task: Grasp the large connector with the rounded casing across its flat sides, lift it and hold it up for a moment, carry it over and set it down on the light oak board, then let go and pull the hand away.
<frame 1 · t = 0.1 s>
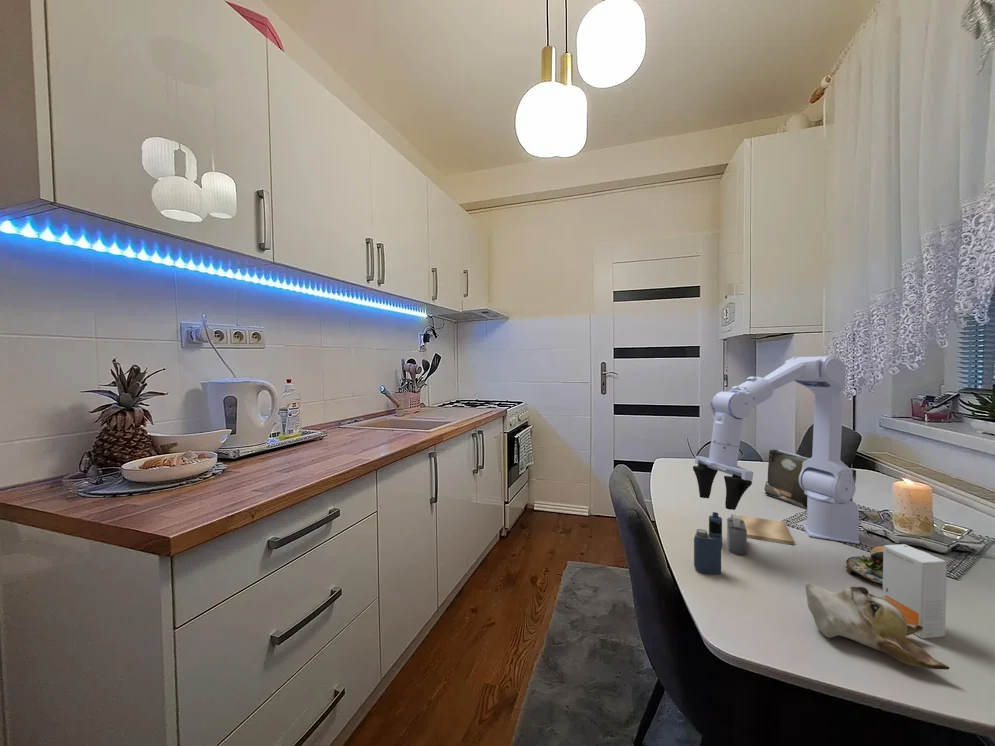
hand: (716, 503, 91), 11 cm above the table, fingers open, 7 cm apart
connector: (736, 546, 93), on the table
vaping device: (708, 571, 82), on the table
ceramic sculpture: (865, 644, 61), on the table
oak board: (760, 529, 101), on the table
skincare box: (912, 627, 64), on the table
burger: (885, 580, 79), on the table
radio: (809, 506, 119), on the table
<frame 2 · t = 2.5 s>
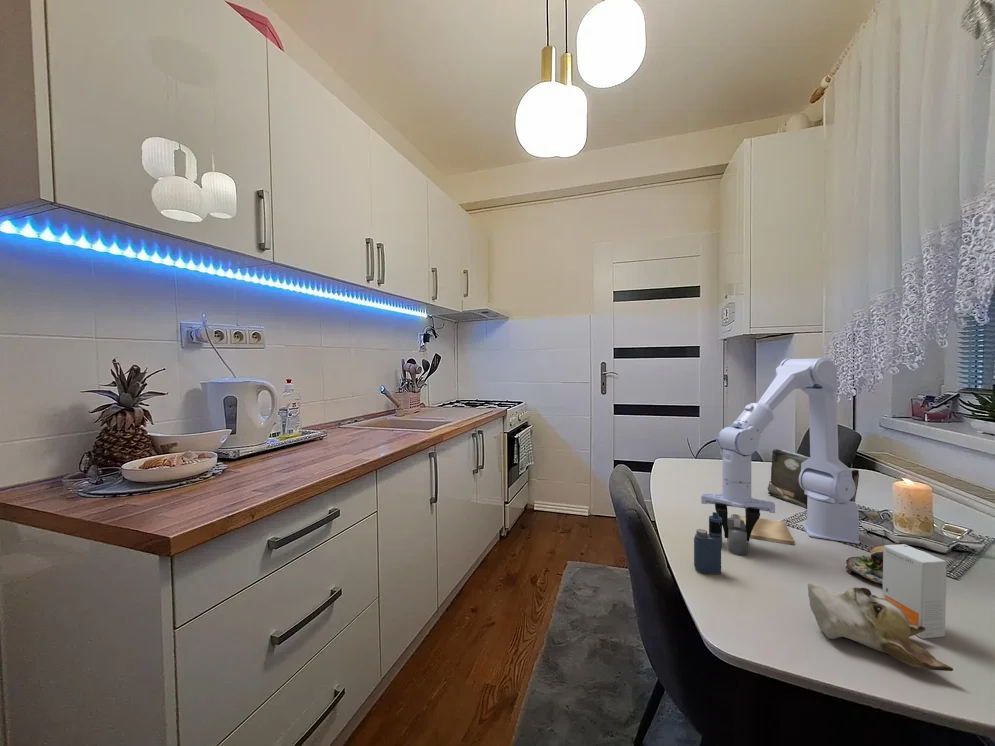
hand: (736, 538, 93), 2 cm above the table, fingers closed on connector, 3 cm apart
connector: (736, 546, 93), on the table, touching gripper
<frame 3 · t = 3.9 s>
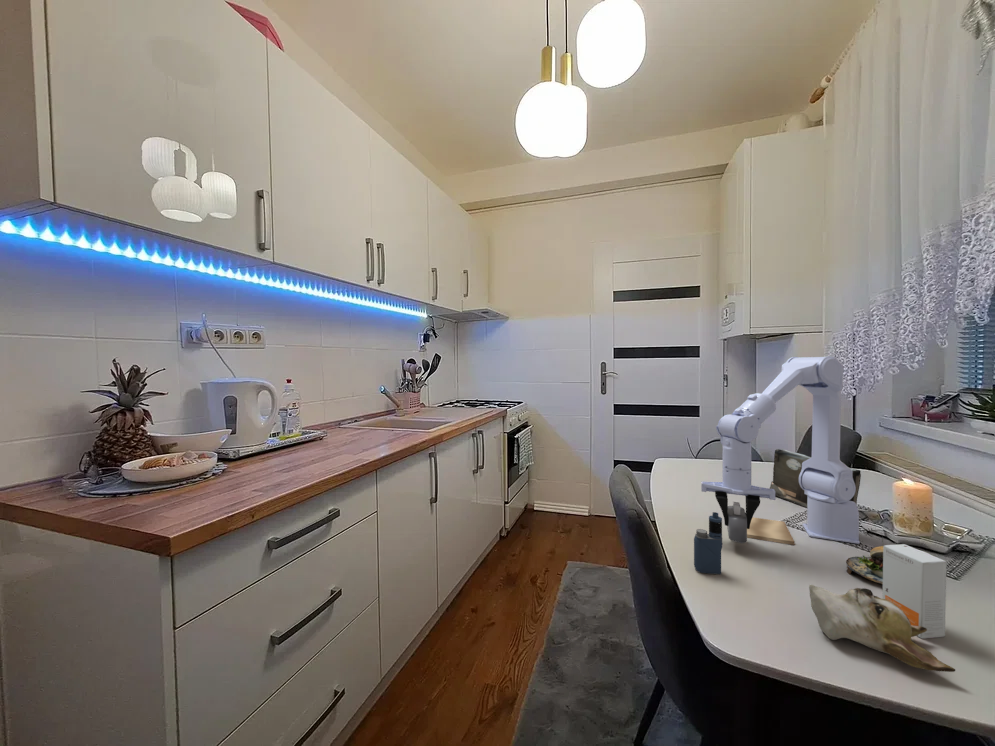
hand: (736, 525, 92), 5 cm above the table, fingers closed on connector, 3 cm apart
connector: (736, 534, 93), point 3 cm above the table, touching gripper
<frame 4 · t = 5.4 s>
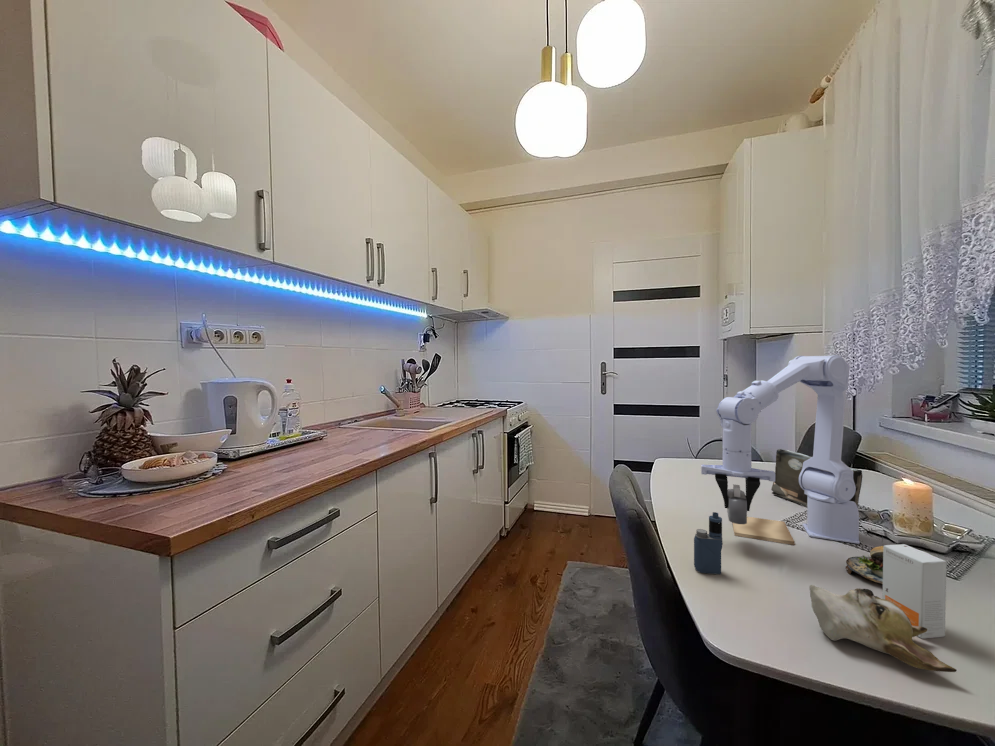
hand: (736, 508, 92), 9 cm above the table, fingers closed on connector, 3 cm apart
connector: (736, 516, 92), point 7 cm above the table, touching gripper
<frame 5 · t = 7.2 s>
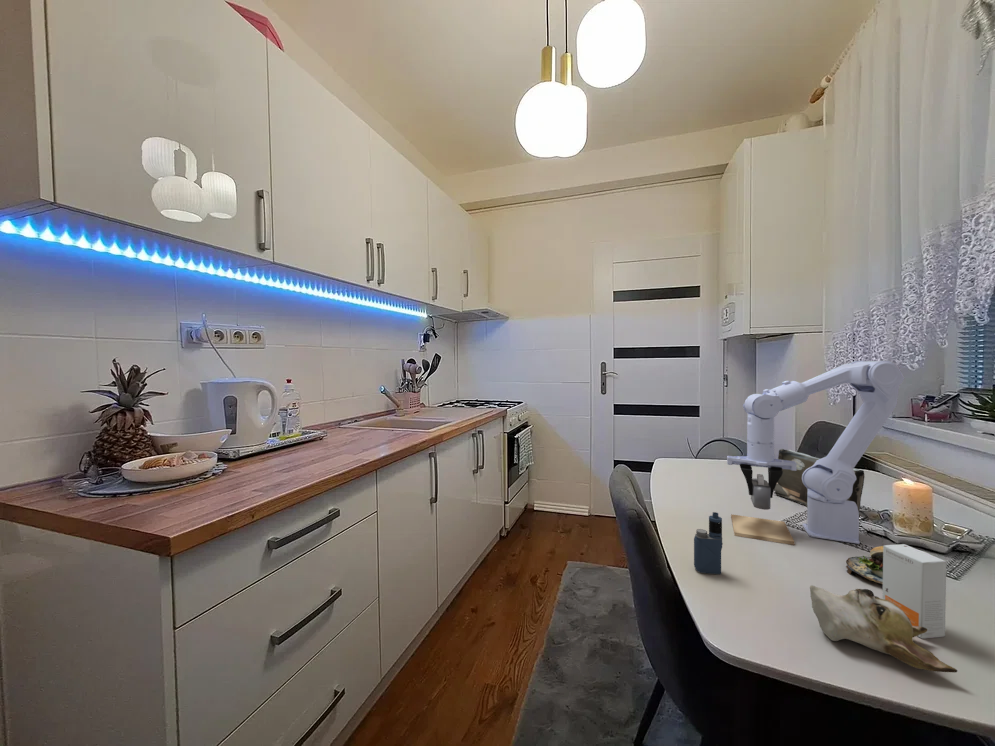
hand: (760, 495, 101), 9 cm above the table, fingers closed on connector, 3 cm apart
connector: (760, 503, 101), point 7 cm above the table, touching gripper
when the fingers open (4 cm above the table, at t = 8.7 s): connector stays where it is, resting on oak board.
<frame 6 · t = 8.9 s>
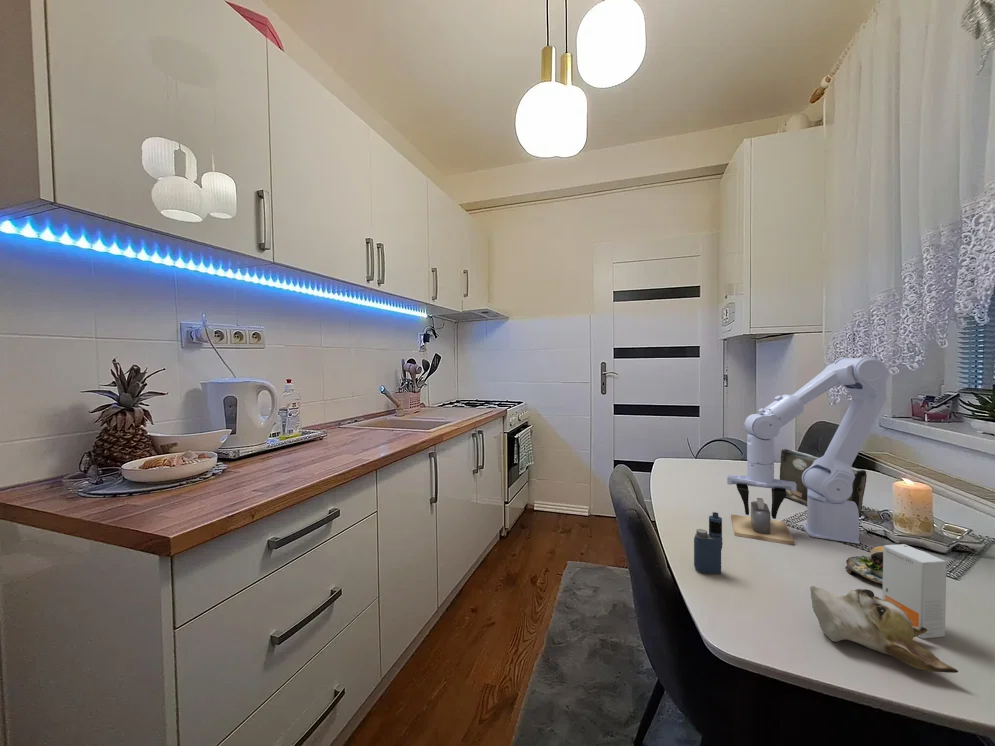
hand: (760, 515, 101), 4 cm above the table, fingers open, 5 cm apart
connector: (760, 527, 101), point 1 cm above the table, touching oak board
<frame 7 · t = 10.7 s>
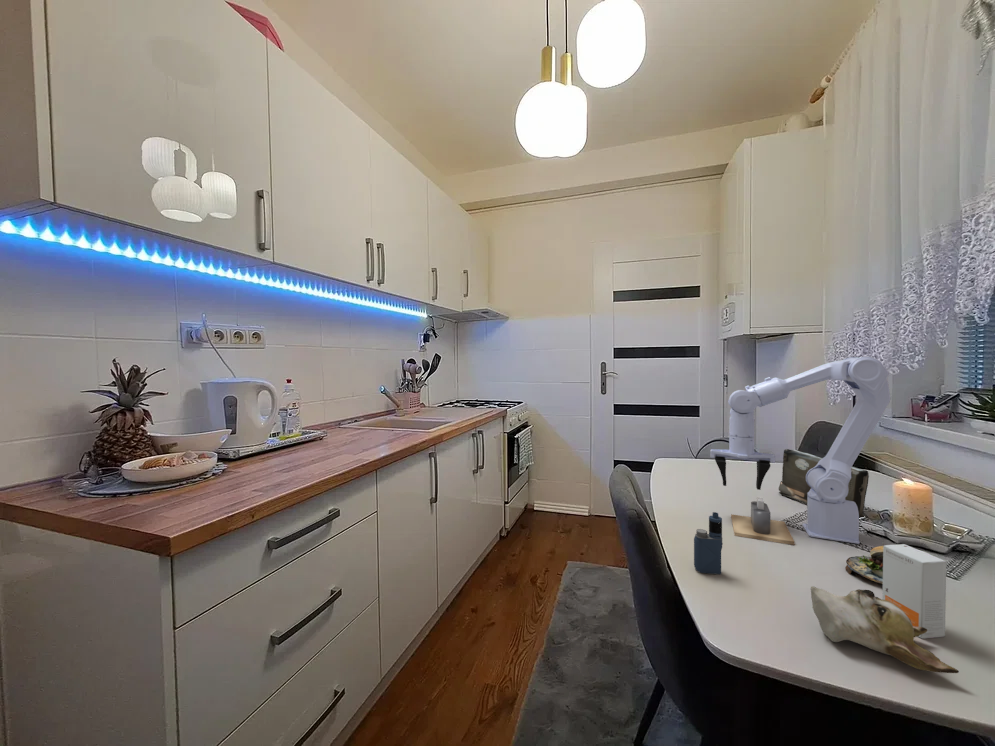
hand: (741, 486, 106), 10 cm above the table, fingers open, 7 cm apart
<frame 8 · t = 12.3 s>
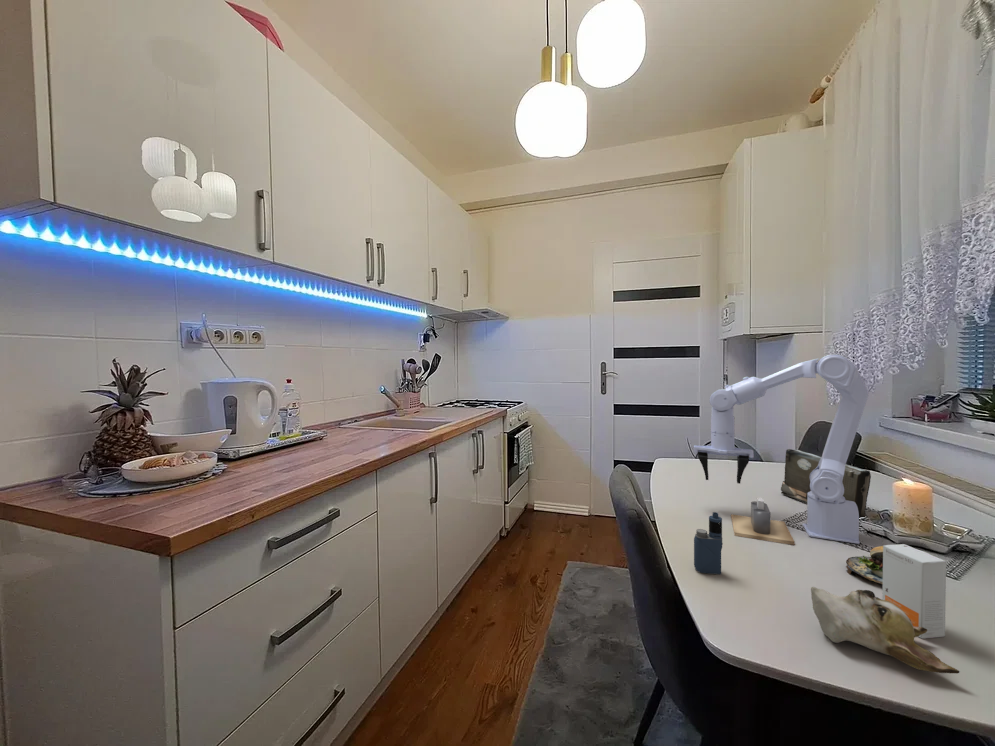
hand: (722, 480, 112), 9 cm above the table, fingers open, 7 cm apart
at the end: connector inside the target area (0.1 cm from its centre), point 0.8 cm above the table; connector tilted 0°; the gripper is holding nothing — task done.
